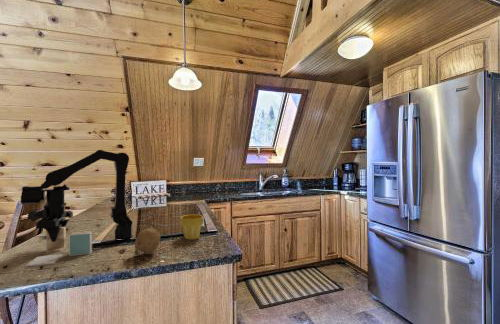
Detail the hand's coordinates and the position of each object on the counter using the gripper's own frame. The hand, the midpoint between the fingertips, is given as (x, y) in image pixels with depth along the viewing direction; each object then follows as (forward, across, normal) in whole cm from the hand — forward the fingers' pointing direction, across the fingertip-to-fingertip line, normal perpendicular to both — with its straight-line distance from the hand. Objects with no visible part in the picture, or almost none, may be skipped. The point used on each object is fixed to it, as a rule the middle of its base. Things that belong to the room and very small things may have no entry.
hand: (56, 239), depth 102 cm
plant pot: (+4, +1, +54) cm, 54 cm away
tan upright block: (+4, 0, 0) cm, 4 cm away
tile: (+4, +8, +11) cm, 14 cm away
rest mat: (+4, +12, +1) cm, 13 cm away
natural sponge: (+4, +17, +36) cm, 40 cm away
